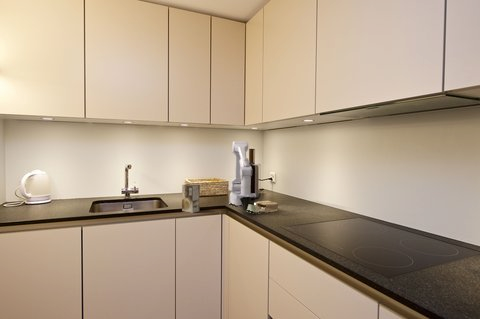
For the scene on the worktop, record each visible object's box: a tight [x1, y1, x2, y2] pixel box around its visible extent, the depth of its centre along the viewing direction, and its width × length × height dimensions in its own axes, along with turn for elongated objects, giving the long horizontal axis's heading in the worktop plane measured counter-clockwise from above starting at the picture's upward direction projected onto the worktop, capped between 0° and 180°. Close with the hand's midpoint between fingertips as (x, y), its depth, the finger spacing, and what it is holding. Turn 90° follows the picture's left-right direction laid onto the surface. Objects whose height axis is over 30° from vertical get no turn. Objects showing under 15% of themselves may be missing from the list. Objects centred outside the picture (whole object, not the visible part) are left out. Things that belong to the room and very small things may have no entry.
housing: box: [256, 200, 279, 211], centre depth 175 cm, size 10×9×5 cm
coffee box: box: [181, 183, 201, 214], centre depth 169 cm, size 9×6×16 cm
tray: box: [247, 203, 266, 212], centre depth 170 cm, size 10×9×4 cm
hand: (245, 209), depth 165 cm, fingers closed
